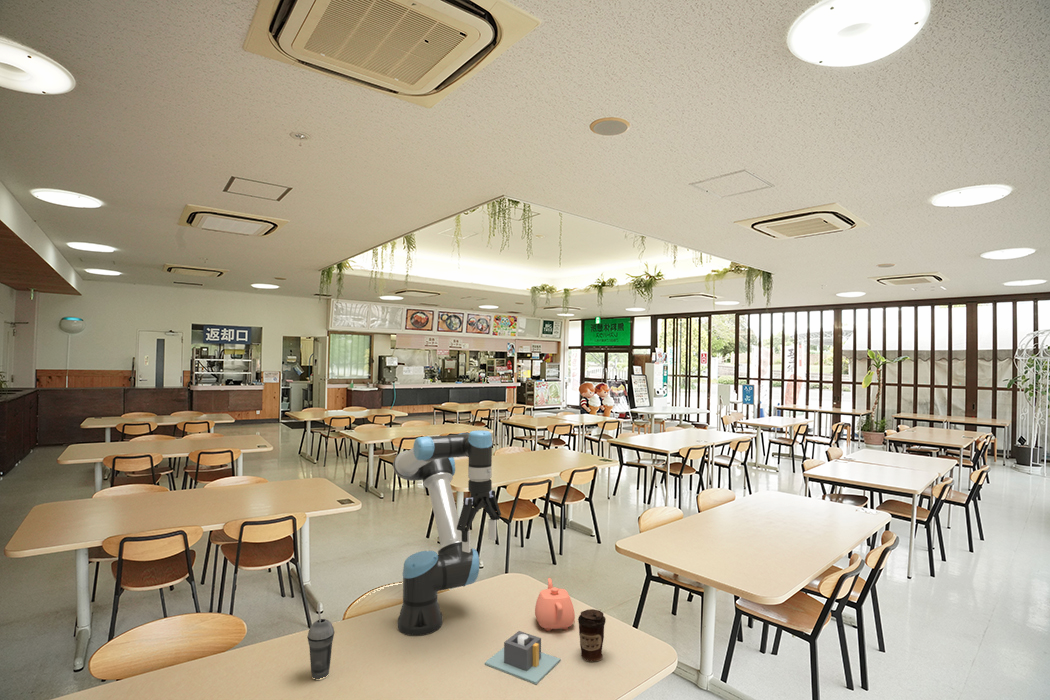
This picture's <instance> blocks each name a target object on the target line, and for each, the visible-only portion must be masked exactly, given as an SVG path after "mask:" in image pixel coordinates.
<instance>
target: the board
mask: <svg viewBox="0 0 1050 700" xmlns="http://www.w3.org/2000/svg"><path fill="white" fill-rule="evenodd" d="M529 643H530V637H529V636H528V635H526V634H520V635H518V644H520V645H523V646H526V645H527V644H529ZM561 661H562V660H561V658H559V657H556V656H553V655H552V654H551V655H550V654H547V653H544V652H542V651H541V659H540V660H539V665H538V666H537V667H534V666H532V667H531V668H530V669H529V670H528V671H524V670H522V669H519V668H517V667H514V666H511V665H509V664H506V663H504V647H502V648H501V649H500V650H499V651H497V652H496V653H495V654H494V655H492V656H491V657H490V658H489V659H487V660H486V661H484V665H485V666H487V667H490V668H492V669H495V670H497V671H501V672H503V673H506V674H508V675H511V676H513V677H515V678H517V679H520V680H523V681H526V682H528V683H531V684H534V685H538V684H539V683H540V682H541V681H542V680H543V679H544V678H545V676H547V675H548V674H549V673H550V672H551V671H552V670H553V669H554V668H555V667H556V666H557V665H558V664H559V663H560V662H561Z"/></svg>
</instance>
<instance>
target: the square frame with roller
mask: <svg viewBox="0 0 1050 700" xmlns="http://www.w3.org/2000/svg"><path fill="white" fill-rule="evenodd" d="M520 634H526V635H528V636H529V637H530V643H529V644H527V645H526V646H523V645H520V644H518V635H520ZM503 648H504V663H506V664H509V665H511V666H514V667H517V668H519V669H522V670H524V671H528V670H529V669H530V668H531V667H532V666H534V667H537V666H538V665H539V660H540V659H541V652H542V638H541V637H539V636H537V635H533V634H530V633H527V632H525V631H524V632H523V631H522V630H521V631H520V630H518V631H516V632H515V633H514V634H513V635H511V636H510V637H509V638H508V639H506V640H505V641H504V642H503Z"/></svg>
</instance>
